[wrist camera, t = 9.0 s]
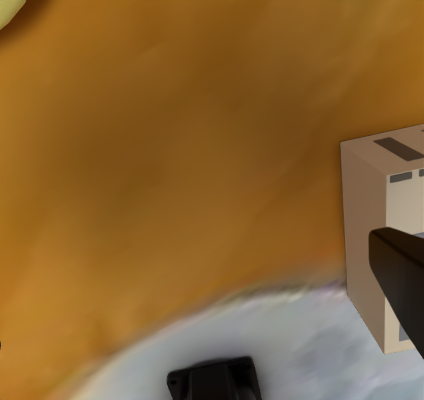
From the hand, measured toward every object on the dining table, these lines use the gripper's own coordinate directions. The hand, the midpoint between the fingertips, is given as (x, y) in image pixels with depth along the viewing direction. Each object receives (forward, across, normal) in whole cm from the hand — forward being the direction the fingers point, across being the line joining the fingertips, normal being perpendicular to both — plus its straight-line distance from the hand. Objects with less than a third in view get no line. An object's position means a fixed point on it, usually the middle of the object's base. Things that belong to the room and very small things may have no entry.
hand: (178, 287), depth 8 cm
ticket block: (+12, -11, +8) cm, 18 cm away
